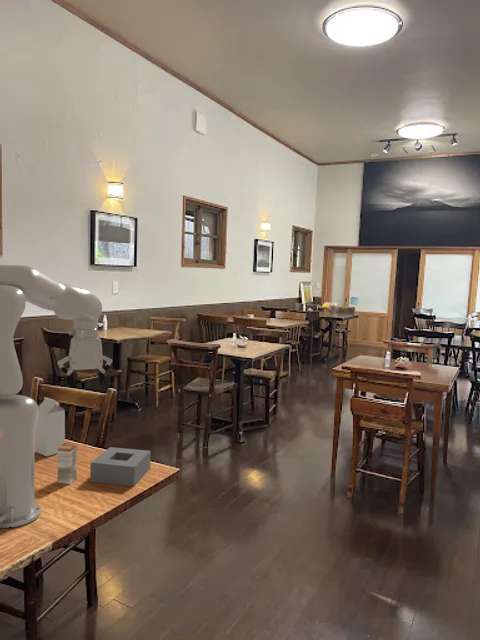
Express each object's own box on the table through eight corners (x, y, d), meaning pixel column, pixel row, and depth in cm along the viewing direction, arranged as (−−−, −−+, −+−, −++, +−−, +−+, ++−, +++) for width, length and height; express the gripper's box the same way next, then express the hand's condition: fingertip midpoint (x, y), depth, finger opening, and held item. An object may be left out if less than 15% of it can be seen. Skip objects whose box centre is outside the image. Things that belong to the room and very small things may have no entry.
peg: (70, 484, 144) (70, 448, 143) (57, 483, 145) (57, 447, 144) (76, 479, 148) (76, 444, 147) (64, 477, 149) (64, 443, 148)
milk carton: (46, 457, 165) (46, 402, 164) (35, 452, 169) (34, 399, 168) (64, 451, 171) (65, 399, 169) (53, 447, 175) (53, 395, 173)
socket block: (134, 486, 144) (134, 466, 144) (90, 481, 146) (90, 462, 146) (150, 468, 158) (150, 450, 158) (109, 464, 160) (110, 447, 160)
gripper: (59, 335, 149) (59, 390, 151) (115, 334, 158) (114, 386, 159) (55, 333, 156) (55, 385, 157) (109, 332, 164) (108, 381, 166)
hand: (85, 385), depth 158 cm, fingers open, 9 cm apart
